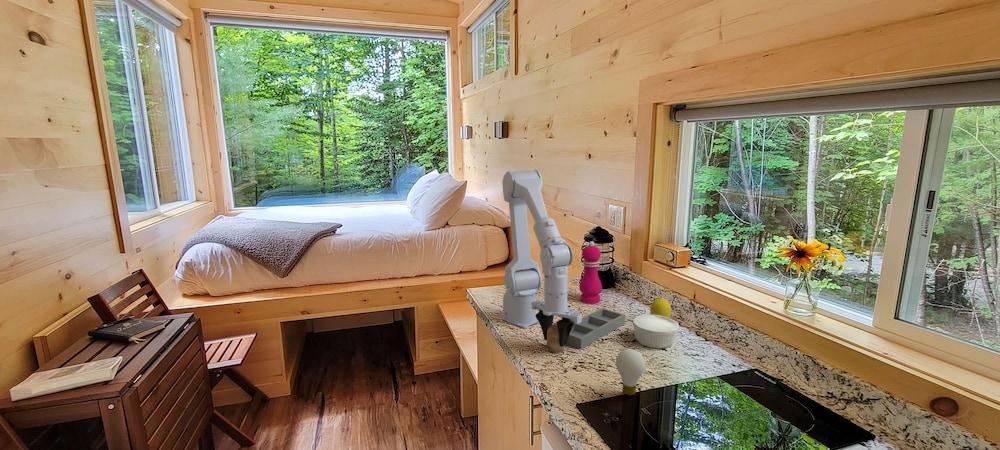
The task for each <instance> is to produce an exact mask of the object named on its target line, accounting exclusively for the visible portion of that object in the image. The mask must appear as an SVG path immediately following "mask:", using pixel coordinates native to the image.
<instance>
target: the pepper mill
mask: <svg viewBox="0 0 1000 450" xmlns="http://www.w3.org/2000/svg"><path fill="white" fill-rule="evenodd" d="M581 256H582V257H581V258H582V259H583V267H584V273H583V275H582V276H583V277H582V278H581V281H580V282H579V283H580V284H579V287H578V288H579V291H580V293H581V294H580V301H581V302H582V303H584V304H590V305H595V304H598V303H600V302H601V295H600V294H601V292H602V291H603V285H602V282H601V279H600V277H599V274H598V273H599V272H598V269H599V268H598V267H599V266H600V261H599V259H600V258H601V256H602V252H601V250H600V248H599V247H598V246H596V245H595V242H594V241H591V240H590V241H589V242H588V246H587V245H586V246H584V248H583V249H582V251H581Z"/></svg>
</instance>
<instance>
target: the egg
mask: <svg viewBox="0 0 1000 450" xmlns="http://www.w3.org/2000/svg"><path fill="white" fill-rule="evenodd" d="M546 350H547V352H549V353H552V354H561V353H563V352H565V346H563V347H561V346H560V344H559V331H558V327H557V324H556V323H554V324H553V325H551V326H550V327H549V328H548V330H547V341H546Z"/></svg>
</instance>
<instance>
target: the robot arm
mask: <svg viewBox="0 0 1000 450" xmlns="http://www.w3.org/2000/svg"><path fill="white" fill-rule="evenodd" d="M543 180H544V179H543V175H542V174H541V172H540V171H539V169H534V170H518V171H509V170H508V171H506V172H505V173H504V175H503V178H502V183H501V185H502V192H503V193H502V194H503V200H504V201H505V202H506V203H508V207H509V221H510V231H511V233H510V234H511V241H512V242H511V243H512V244H511V245H512V255H513V258H512V260H511V261H510V262H509V263H508V264H507V265H505V267H504V277H503V279H504V280H503V283H504V286H505V289H506V291H504V293H503V297H502V307H503V308H502V309H503V310H502V311H503V312H502V313H503V315H502V317H501V320H503V321H506V322H507V323H510V324H513V325H515V326H518V327H521V328H523V329H525V328H528V327H531V326H533V325H535V324H537V323H539V326H540V328H541V331H542V336H543V339H544V340H545V341H546V342H547V330H548V328H549V327H550V326H551V325H553V323H554V318H555V317H559V318H561V319H558V320H557V321H556V322H555V324H557V327H558V331H559V344H560V346H561V347H563V346H564V347H565V346H566V345H568V344H567V341H568V338H569V335H570V332H571V330H572V328H573V326H574V324H579V323H581V322H582V318H583V316H582V314H581V313H578V312H576V310H573V309H572V308H570V307H569V306H568V276H569V275H568V271H569V266H570V265H572V263H573V259H574V258H573V257H574V256H573V250H572V248H571V245H570V244H569V243H568V242H567V241H566V240H565V239H564V238H562V236H561V233H560V232H559V229H558V227H557V224H556V222H555V220H554V219H553V218H551V217H549V215H548V212H547V207H546V205H545V201H544V199H543V194H542V191H543V187H544V186H543V184H544V181H543ZM527 208H528V210H529V212H530V213H531V217H532V218H533V220H534V222H535V223H534V225H533V227H532V229H533V232H534V234H535V237H536V239H537V242H538V245H539V248H540V252H539V260H540V263H541V270H540V266H539V263H538V262H537V261H535V260H533V259H532V257H531V247H530V245H531V244H530V234H529V233H530V232H529V223H528V210H527ZM541 271H542V273H541ZM542 274H543V275H544V278H543V276H542ZM543 279H544V281H543ZM543 282H544V283H543ZM542 284H543V285H544V288H543V289H544V293H543V295H544V296H543V297H544V298H543V299H544V300H542V301H541V300H537V299H536V298H537V297H536V294H537V293H539V291H538V290H540V289H541V287H542ZM537 310H538V313H536V311H537Z"/></svg>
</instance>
